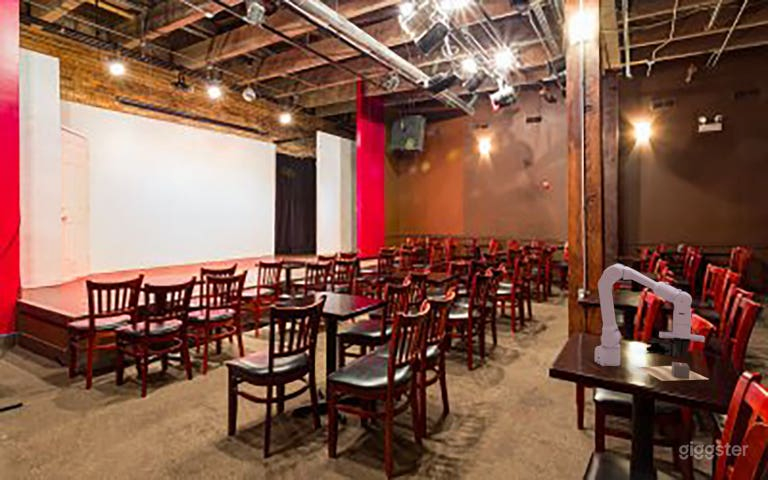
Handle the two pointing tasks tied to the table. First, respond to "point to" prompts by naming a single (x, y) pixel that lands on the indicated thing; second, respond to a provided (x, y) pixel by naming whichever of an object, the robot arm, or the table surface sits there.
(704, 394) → the table surface
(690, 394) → the table surface
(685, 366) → the grey cube
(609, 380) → the table surface
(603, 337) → the robot arm
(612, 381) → the table surface
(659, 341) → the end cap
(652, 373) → the board
